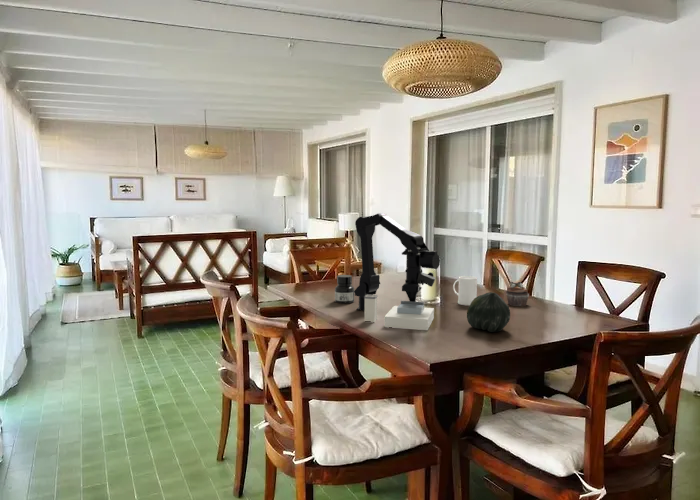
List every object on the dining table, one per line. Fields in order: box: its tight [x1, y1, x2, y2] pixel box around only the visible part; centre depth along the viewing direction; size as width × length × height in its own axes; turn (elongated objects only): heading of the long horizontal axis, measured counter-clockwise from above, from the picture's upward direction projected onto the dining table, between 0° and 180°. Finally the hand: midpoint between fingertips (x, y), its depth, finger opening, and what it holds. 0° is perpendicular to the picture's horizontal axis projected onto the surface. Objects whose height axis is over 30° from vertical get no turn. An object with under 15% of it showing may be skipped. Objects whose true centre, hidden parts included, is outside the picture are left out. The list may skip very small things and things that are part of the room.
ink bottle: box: [334, 274, 355, 304], centre depth 228 cm, size 10×9×12 cm
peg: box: [364, 294, 378, 323], centre depth 193 cm, size 4×4×10 cm
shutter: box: [397, 300, 425, 314], centre depth 192 cm, size 8×9×3 cm
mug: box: [452, 275, 478, 306], centre depth 226 cm, size 12×8×12 cm
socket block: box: [383, 305, 435, 331], centre depth 191 cm, size 19×16×4 cm
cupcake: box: [505, 281, 530, 307], centre depth 223 cm, size 10×10×10 cm
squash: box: [466, 291, 511, 333], centre depth 180 cm, size 14×15×15 cm
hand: (413, 305), depth 197 cm, fingers closed
